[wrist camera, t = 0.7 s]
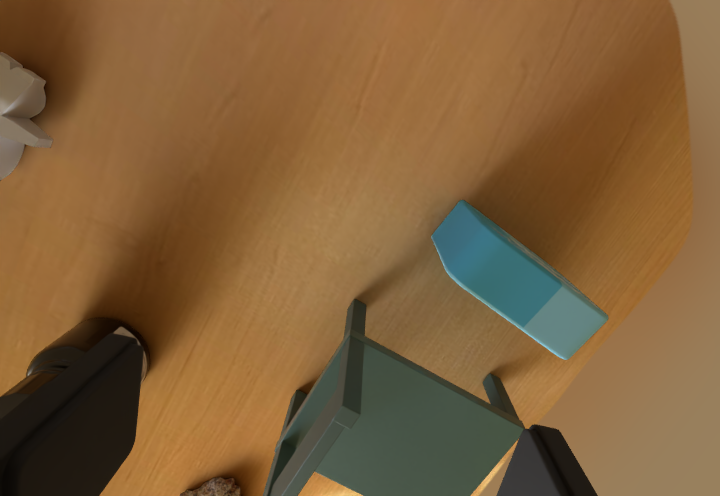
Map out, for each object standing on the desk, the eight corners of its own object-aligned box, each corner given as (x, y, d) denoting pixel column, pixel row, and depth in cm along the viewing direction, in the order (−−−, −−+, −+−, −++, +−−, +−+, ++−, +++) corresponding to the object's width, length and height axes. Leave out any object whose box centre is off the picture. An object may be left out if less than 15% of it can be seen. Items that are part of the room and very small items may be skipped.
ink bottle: (150, 398, 49) (82, 485, 38) (70, 384, 49) (-23, 467, 38) (154, 319, 47) (82, 387, 35) (70, 304, 46) (-31, 367, 35)
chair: (354, 296, 45) (341, 403, 29) (501, 378, 47) (569, 520, 31) (289, 398, 49) (246, 544, 32) (429, 469, 51) (455, 640, 35)
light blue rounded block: (554, 268, 44) (618, 324, 32) (523, 302, 45) (573, 368, 33) (458, 195, 42) (489, 227, 30) (428, 233, 43) (447, 277, 31)
